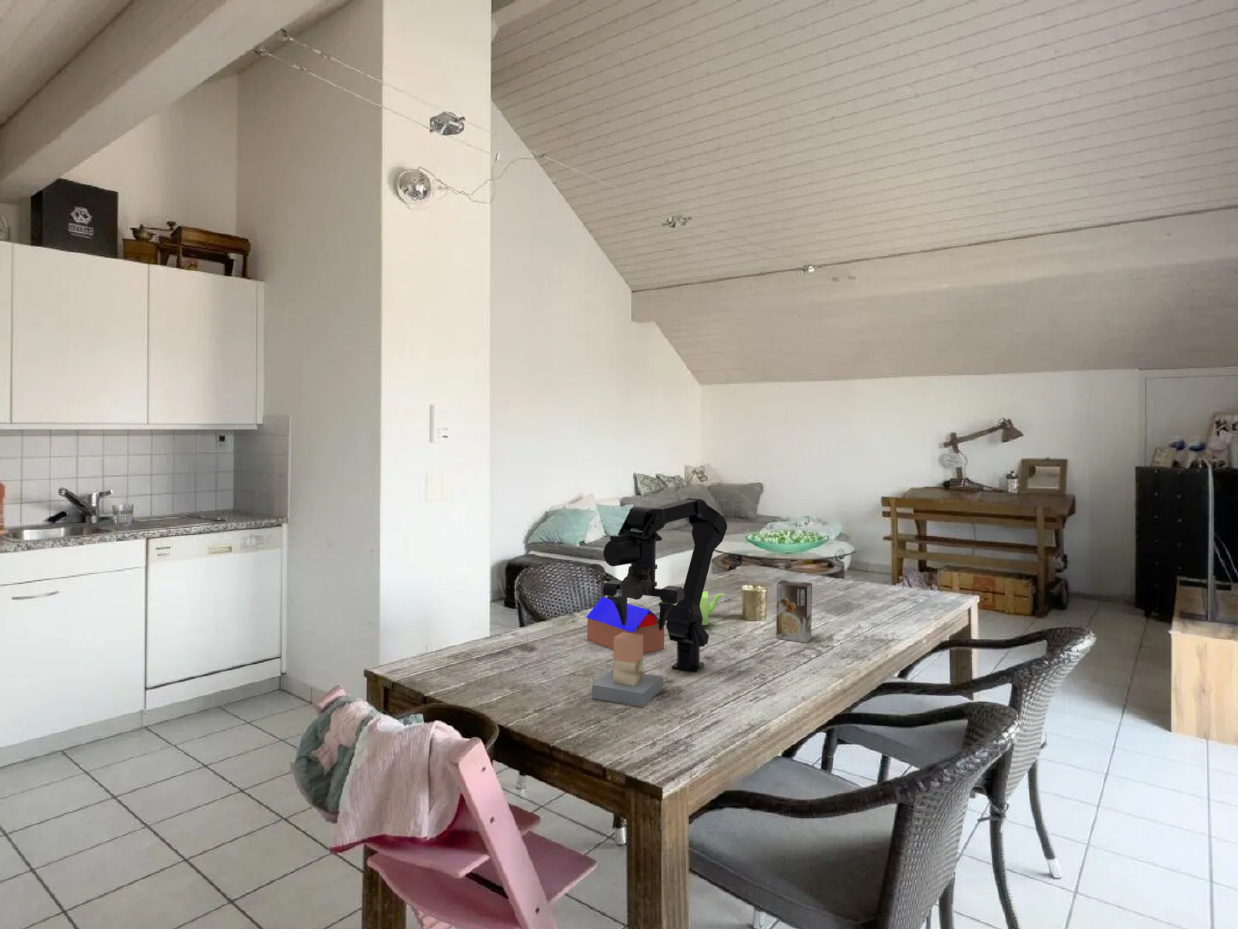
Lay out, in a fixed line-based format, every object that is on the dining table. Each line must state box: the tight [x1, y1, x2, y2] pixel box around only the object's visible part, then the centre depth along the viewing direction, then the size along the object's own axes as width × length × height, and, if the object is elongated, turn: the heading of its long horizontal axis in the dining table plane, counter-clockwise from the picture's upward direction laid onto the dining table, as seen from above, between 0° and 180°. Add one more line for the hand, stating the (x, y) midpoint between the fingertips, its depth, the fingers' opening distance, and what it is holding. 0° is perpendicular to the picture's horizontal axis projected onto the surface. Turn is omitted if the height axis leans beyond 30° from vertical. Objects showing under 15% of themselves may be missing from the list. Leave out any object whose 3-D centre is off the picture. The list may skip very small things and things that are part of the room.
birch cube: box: [612, 656, 644, 686], centre depth 162 cm, size 5×5×5 cm
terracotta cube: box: [612, 632, 644, 663], centre depth 162 cm, size 5×5×5 cm
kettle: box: [658, 590, 725, 626], centre depth 221 cm, size 15×14×11 cm
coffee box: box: [775, 579, 813, 644], centre depth 208 cm, size 9×6×16 cm
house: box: [586, 596, 666, 655], centre depth 200 cm, size 12×20×12 cm, turn 40°
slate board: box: [591, 670, 664, 708], centre depth 162 cm, size 12×12×3 cm
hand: (642, 627), depth 169 cm, fingers open, 9 cm apart
